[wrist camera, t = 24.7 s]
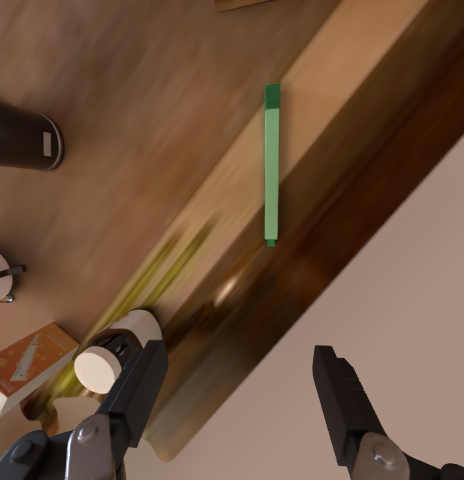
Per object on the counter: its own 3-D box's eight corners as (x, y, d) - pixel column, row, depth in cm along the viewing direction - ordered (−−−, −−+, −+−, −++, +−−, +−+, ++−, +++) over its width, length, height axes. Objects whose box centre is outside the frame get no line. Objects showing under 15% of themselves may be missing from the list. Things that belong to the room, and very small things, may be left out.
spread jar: (157, 301, 39) (110, 344, 28) (180, 354, 41) (143, 414, 30) (108, 314, 43) (48, 357, 32) (130, 362, 44) (80, 420, 33)
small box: (81, 343, 46) (8, 399, 34) (71, 361, 48) (-2, 420, 35) (52, 320, 46) (-31, 366, 34) (43, 338, 48) (-38, 389, 36)
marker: (277, 244, 33) (277, 247, 31) (265, 244, 33) (264, 247, 31) (280, 89, 28) (280, 82, 26) (265, 90, 29) (264, 84, 27)
